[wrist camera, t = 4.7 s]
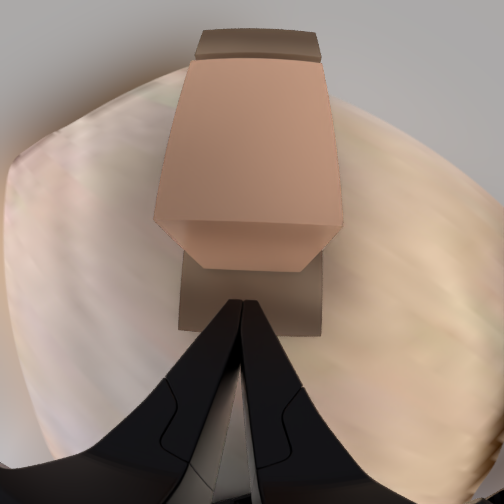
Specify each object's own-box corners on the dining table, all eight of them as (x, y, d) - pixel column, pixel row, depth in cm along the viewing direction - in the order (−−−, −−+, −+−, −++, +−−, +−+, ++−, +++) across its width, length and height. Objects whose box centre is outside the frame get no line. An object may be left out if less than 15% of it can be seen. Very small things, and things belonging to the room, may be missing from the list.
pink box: (300, 272, 17) (343, 226, 8) (203, 268, 17) (153, 219, 8) (298, 160, 19) (322, 63, 10) (214, 157, 19) (190, 60, 10)
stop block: (317, 335, 18) (370, 349, 9) (182, 329, 18) (120, 337, 9) (311, 117, 21) (331, 34, 13) (206, 114, 22) (187, 31, 13)
